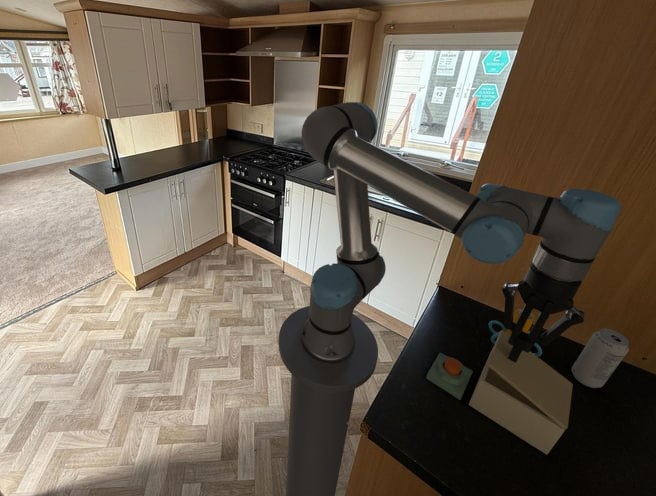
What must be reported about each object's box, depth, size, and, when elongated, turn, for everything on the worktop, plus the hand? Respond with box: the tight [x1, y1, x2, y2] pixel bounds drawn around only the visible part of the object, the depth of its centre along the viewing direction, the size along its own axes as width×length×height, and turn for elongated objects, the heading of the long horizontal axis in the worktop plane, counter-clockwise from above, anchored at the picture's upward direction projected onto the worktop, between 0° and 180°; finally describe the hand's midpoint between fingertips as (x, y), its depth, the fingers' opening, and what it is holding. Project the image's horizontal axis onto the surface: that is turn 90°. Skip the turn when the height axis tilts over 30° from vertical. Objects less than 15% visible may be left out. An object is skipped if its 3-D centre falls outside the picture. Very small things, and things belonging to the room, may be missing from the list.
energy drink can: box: [571, 328, 630, 389], centre depth 76 cm, size 6×6×15 cm
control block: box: [425, 352, 473, 401], centre depth 79 cm, size 8×9×4 cm
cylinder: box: [487, 307, 543, 358], centre depth 82 cm, size 12×10×15 cm
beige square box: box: [468, 346, 566, 456], centre depth 71 cm, size 15×13×9 cm
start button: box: [444, 357, 462, 375], centre depth 78 cm, size 4×4×2 cm
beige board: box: [486, 329, 574, 430], centre depth 67 cm, size 15×13×1 cm
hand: (513, 356), depth 69 cm, fingers closed
